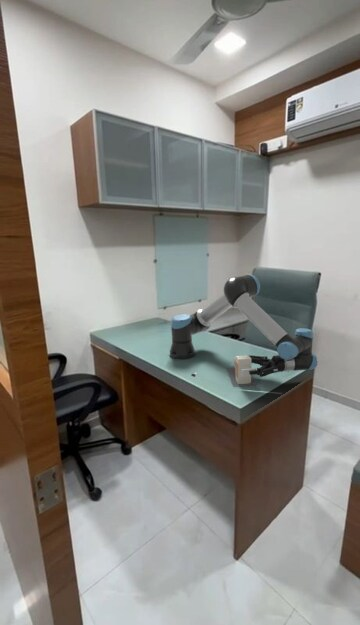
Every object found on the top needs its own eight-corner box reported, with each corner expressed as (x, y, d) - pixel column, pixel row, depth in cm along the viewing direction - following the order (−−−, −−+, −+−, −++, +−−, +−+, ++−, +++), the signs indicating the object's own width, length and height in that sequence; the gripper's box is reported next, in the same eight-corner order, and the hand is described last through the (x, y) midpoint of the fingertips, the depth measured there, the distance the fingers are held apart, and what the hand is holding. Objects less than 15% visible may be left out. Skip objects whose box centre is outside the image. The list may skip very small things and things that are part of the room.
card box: (248, 379, 144) (248, 355, 142) (251, 383, 140) (251, 358, 137) (234, 380, 144) (235, 356, 141) (237, 384, 139) (237, 359, 137)
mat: (226, 368, 159) (226, 367, 158) (247, 367, 158) (247, 366, 158) (233, 388, 137) (233, 386, 137) (257, 387, 137) (257, 386, 137)
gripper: (294, 382, 130) (245, 386, 128) (271, 361, 154) (230, 363, 153) (294, 366, 128) (245, 369, 127) (272, 346, 153) (230, 349, 151)
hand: (237, 366), depth 140 cm, fingers open, 13 cm apart
